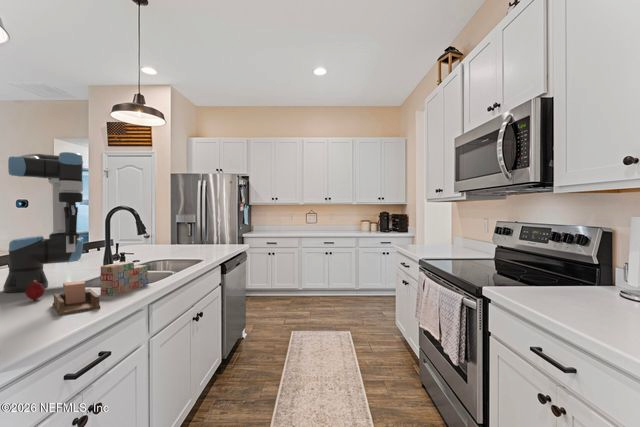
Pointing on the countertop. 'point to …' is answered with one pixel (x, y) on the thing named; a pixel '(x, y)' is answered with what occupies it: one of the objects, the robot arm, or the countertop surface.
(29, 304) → the countertop surface
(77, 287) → the block
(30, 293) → the onion
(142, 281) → the stack of blocks
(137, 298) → the countertop surface
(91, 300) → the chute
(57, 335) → the countertop surface
